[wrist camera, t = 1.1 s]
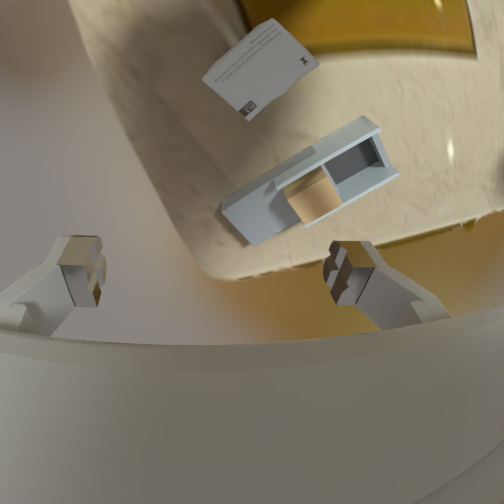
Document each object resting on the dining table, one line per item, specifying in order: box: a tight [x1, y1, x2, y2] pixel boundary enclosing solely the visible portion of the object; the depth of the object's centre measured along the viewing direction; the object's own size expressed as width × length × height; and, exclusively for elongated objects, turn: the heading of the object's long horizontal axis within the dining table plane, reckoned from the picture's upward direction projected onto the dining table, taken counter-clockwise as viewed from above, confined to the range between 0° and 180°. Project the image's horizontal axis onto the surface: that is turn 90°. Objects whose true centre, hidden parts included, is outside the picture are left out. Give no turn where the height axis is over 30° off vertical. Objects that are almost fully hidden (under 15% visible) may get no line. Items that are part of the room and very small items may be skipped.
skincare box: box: [202, 18, 319, 121], centre depth 25 cm, size 8×6×15 cm
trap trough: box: [221, 116, 399, 247], centre depth 40 cm, size 25×8×6 cm, turn 125°
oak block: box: [283, 166, 343, 225], centre depth 39 cm, size 6×5×4 cm
